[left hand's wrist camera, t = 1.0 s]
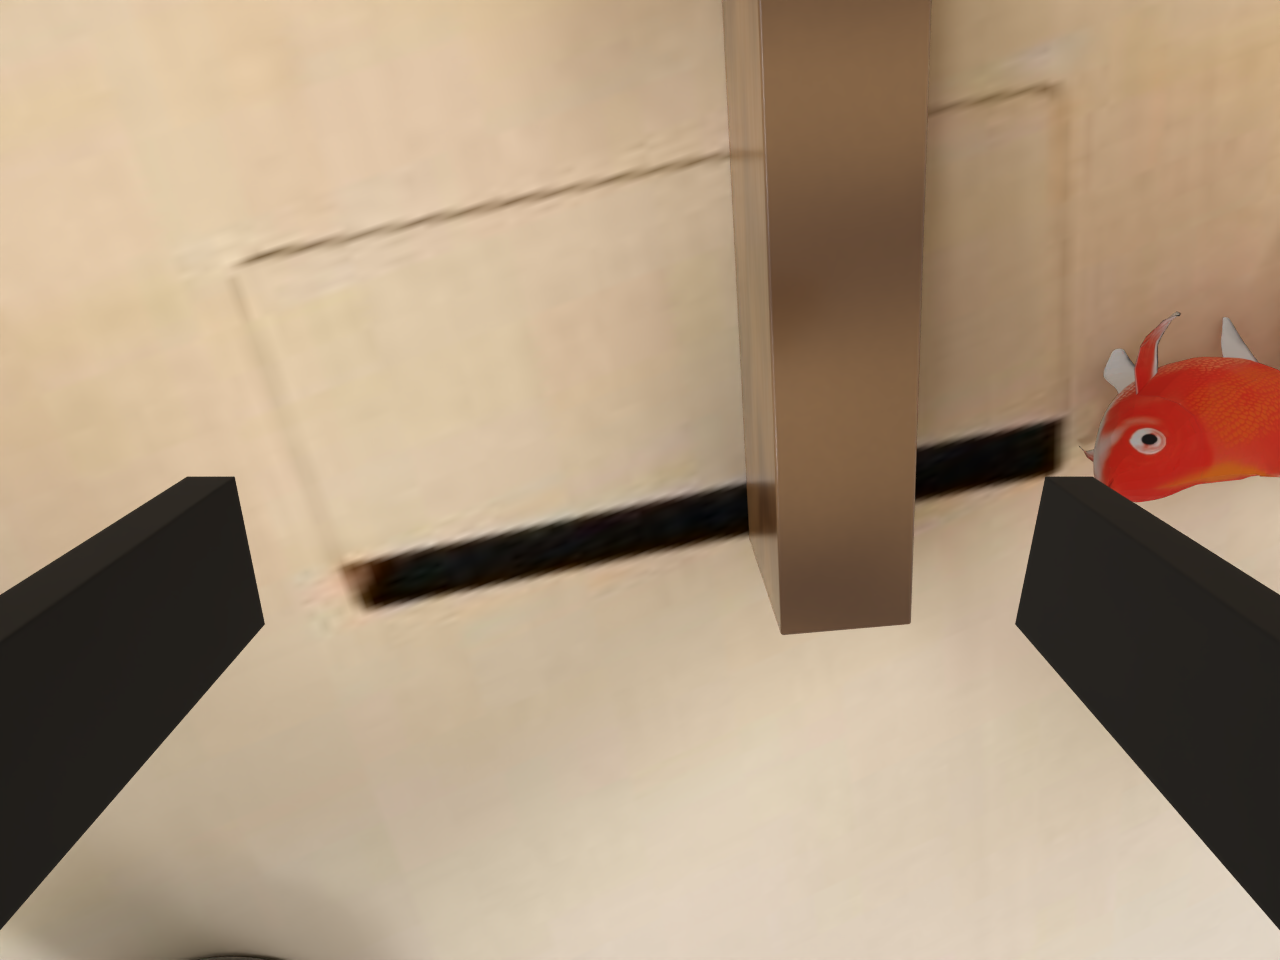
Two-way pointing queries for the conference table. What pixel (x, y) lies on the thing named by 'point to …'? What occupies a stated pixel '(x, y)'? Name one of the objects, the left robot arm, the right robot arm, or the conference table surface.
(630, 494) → the conference table surface
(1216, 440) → the fish
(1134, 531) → the left robot arm
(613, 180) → the conference table surface
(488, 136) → the conference table surface
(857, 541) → the bar
